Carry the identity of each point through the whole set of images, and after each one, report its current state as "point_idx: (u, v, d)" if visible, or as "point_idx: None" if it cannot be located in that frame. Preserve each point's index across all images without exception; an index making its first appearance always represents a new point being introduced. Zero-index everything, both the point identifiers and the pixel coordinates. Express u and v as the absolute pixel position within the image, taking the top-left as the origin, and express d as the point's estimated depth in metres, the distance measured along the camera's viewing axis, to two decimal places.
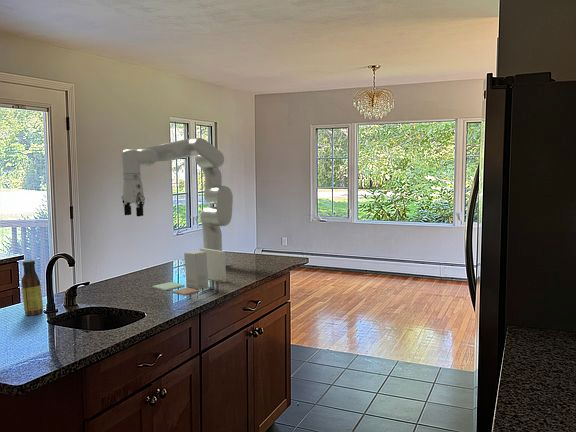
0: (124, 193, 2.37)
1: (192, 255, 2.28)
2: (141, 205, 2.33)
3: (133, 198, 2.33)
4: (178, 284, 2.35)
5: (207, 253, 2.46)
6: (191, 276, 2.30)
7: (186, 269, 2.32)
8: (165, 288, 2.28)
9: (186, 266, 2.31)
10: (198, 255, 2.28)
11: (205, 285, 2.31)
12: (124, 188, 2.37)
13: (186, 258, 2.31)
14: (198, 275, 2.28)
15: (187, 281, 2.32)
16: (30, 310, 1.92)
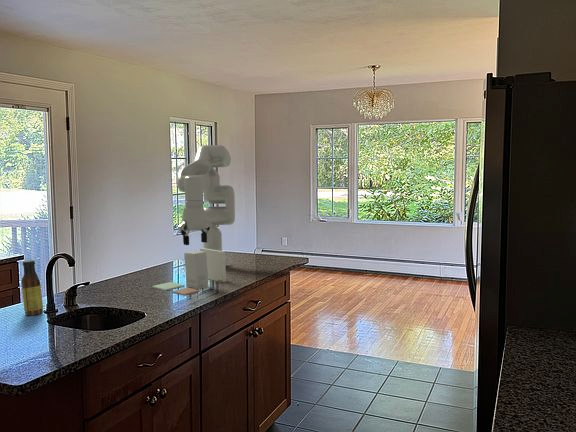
0: (192, 221, 2.26)
1: (192, 255, 2.28)
2: None
3: (204, 224, 2.31)
4: (178, 284, 2.35)
5: (207, 253, 2.46)
6: (191, 276, 2.30)
7: (186, 269, 2.32)
8: (165, 288, 2.28)
9: (186, 266, 2.31)
10: (198, 255, 2.28)
11: (205, 285, 2.31)
12: (192, 216, 2.26)
13: (186, 258, 2.31)
14: (198, 275, 2.28)
15: (187, 281, 2.32)
16: (30, 310, 1.92)
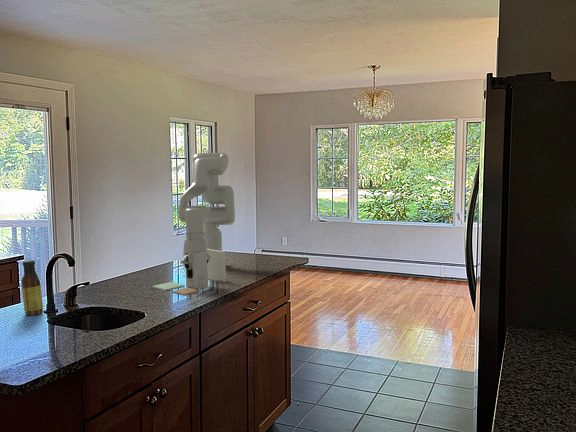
0: None
1: None
2: None
3: None
4: (178, 284, 2.35)
5: None
6: None
7: (186, 269, 2.32)
8: (165, 288, 2.28)
9: None
10: (198, 255, 2.28)
11: (205, 285, 2.31)
12: (193, 248, 2.27)
13: None
14: (198, 275, 2.28)
15: (187, 281, 2.32)
16: (30, 310, 1.92)
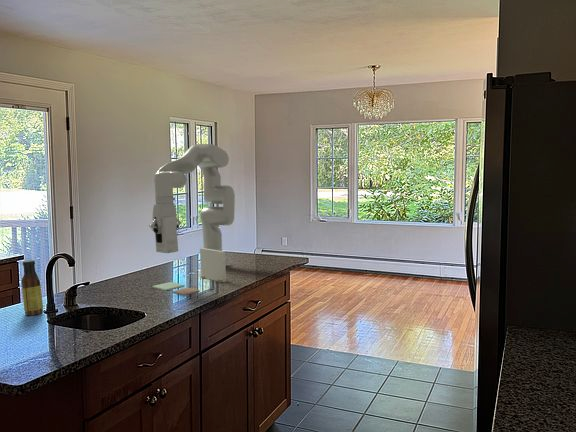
0: None
1: None
2: None
3: None
4: (178, 284, 2.35)
5: (207, 253, 2.46)
6: None
7: None
8: (165, 288, 2.28)
9: None
10: (168, 219, 2.27)
11: (175, 250, 2.30)
12: (162, 212, 2.26)
13: None
14: (167, 240, 2.27)
15: (157, 246, 2.31)
16: (30, 310, 1.92)
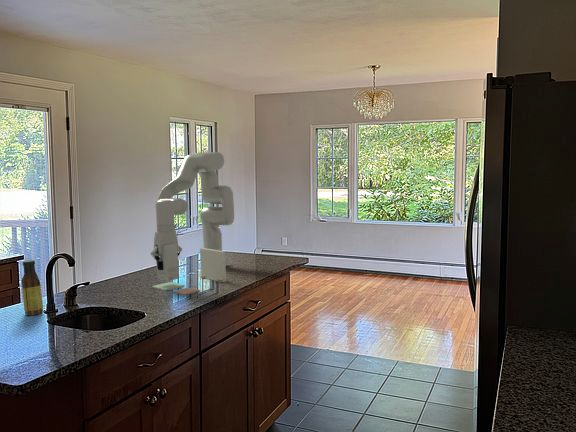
0: (163, 245, 2.28)
1: None
2: None
3: None
4: (178, 284, 2.35)
5: (207, 253, 2.46)
6: None
7: None
8: (165, 288, 2.28)
9: None
10: (169, 247, 2.28)
11: (176, 277, 2.31)
12: (163, 240, 2.28)
13: None
14: (168, 267, 2.28)
15: (158, 273, 2.32)
16: (30, 310, 1.92)
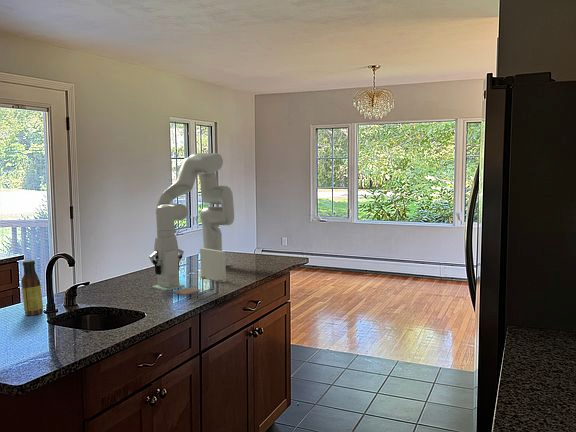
0: (163, 251, 2.28)
1: None
2: None
3: None
4: None
5: (207, 253, 2.46)
6: (162, 275, 2.30)
7: None
8: (165, 288, 2.28)
9: None
10: (169, 254, 2.29)
11: (176, 284, 2.32)
12: (163, 246, 2.28)
13: None
14: (168, 274, 2.29)
15: (158, 280, 2.33)
16: (30, 310, 1.92)
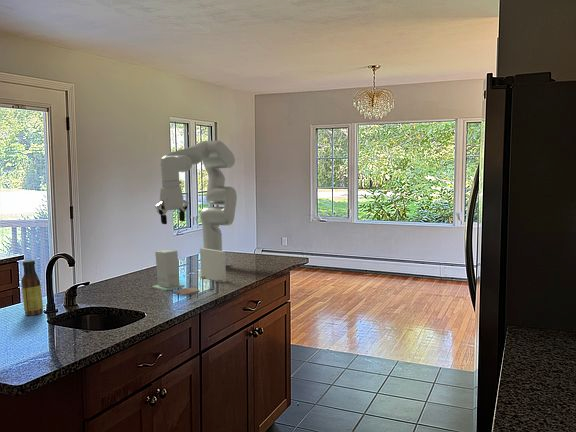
0: (169, 201, 2.32)
1: (163, 254, 2.28)
2: None
3: (181, 204, 2.38)
4: None
5: (207, 253, 2.46)
6: (162, 275, 2.30)
7: (157, 268, 2.32)
8: (165, 288, 2.28)
9: (157, 265, 2.32)
10: (169, 254, 2.29)
11: (176, 284, 2.32)
12: (169, 196, 2.32)
13: (157, 257, 2.31)
14: (168, 274, 2.29)
15: (158, 280, 2.33)
16: (30, 310, 1.92)
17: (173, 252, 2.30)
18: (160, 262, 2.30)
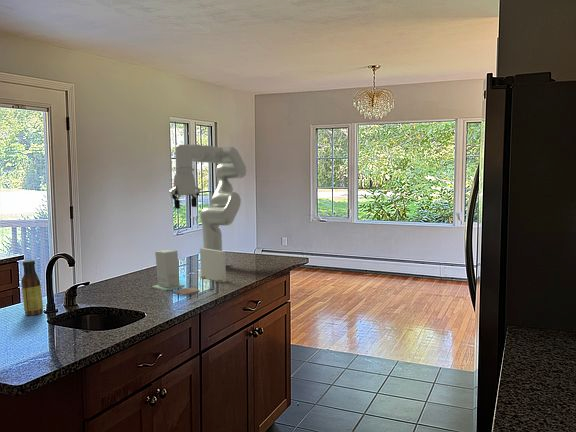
0: (182, 186, 2.44)
1: (163, 254, 2.28)
2: None
3: (194, 190, 2.50)
4: None
5: (207, 253, 2.46)
6: (162, 275, 2.30)
7: (157, 268, 2.32)
8: (165, 288, 2.28)
9: (157, 265, 2.32)
10: (169, 254, 2.29)
11: (176, 284, 2.32)
12: (182, 181, 2.44)
13: (157, 257, 2.31)
14: (168, 274, 2.29)
15: (158, 280, 2.33)
16: (30, 310, 1.92)
17: (173, 252, 2.30)
18: (160, 262, 2.30)
